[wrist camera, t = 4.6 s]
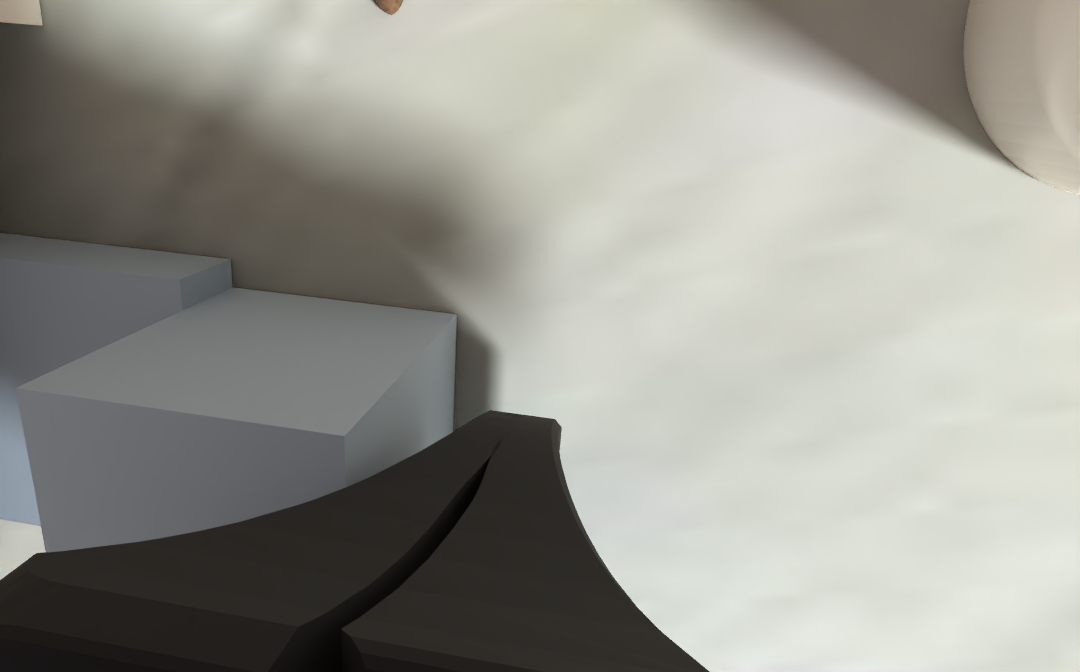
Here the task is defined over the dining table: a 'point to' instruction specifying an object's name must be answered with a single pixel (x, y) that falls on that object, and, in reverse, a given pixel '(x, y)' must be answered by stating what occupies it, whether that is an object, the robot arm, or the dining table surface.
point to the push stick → (196, 392)
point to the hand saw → (389, 5)
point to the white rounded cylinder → (1028, 83)
